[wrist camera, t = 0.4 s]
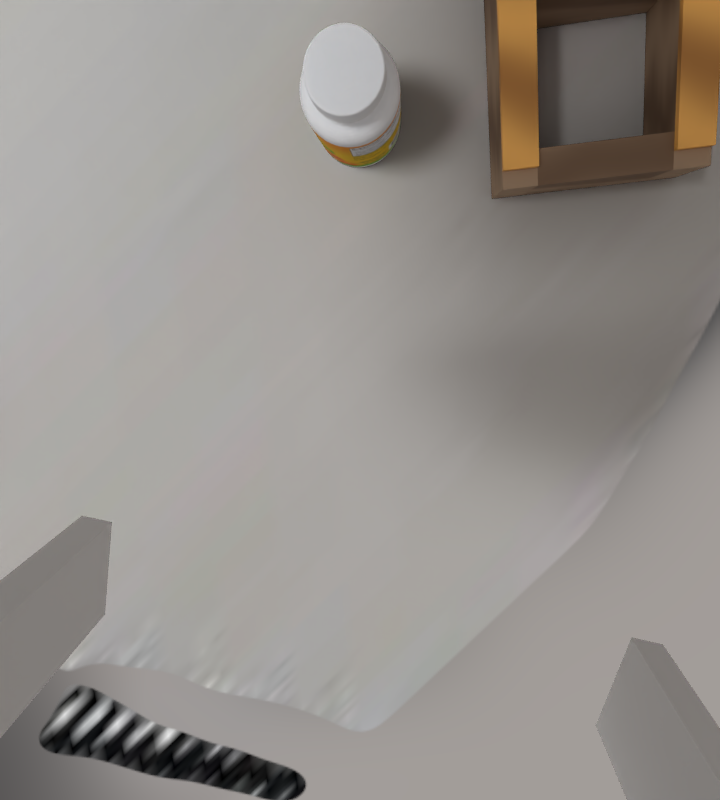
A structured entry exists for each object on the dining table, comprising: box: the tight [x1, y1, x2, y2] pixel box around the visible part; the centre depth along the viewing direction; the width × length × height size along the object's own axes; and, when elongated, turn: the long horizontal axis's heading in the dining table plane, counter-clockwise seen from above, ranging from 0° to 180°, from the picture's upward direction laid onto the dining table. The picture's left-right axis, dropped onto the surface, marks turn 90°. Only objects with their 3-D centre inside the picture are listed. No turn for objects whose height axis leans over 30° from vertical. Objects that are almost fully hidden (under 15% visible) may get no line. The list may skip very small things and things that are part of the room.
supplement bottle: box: [299, 23, 401, 167], centre depth 29 cm, size 5×5×10 cm
